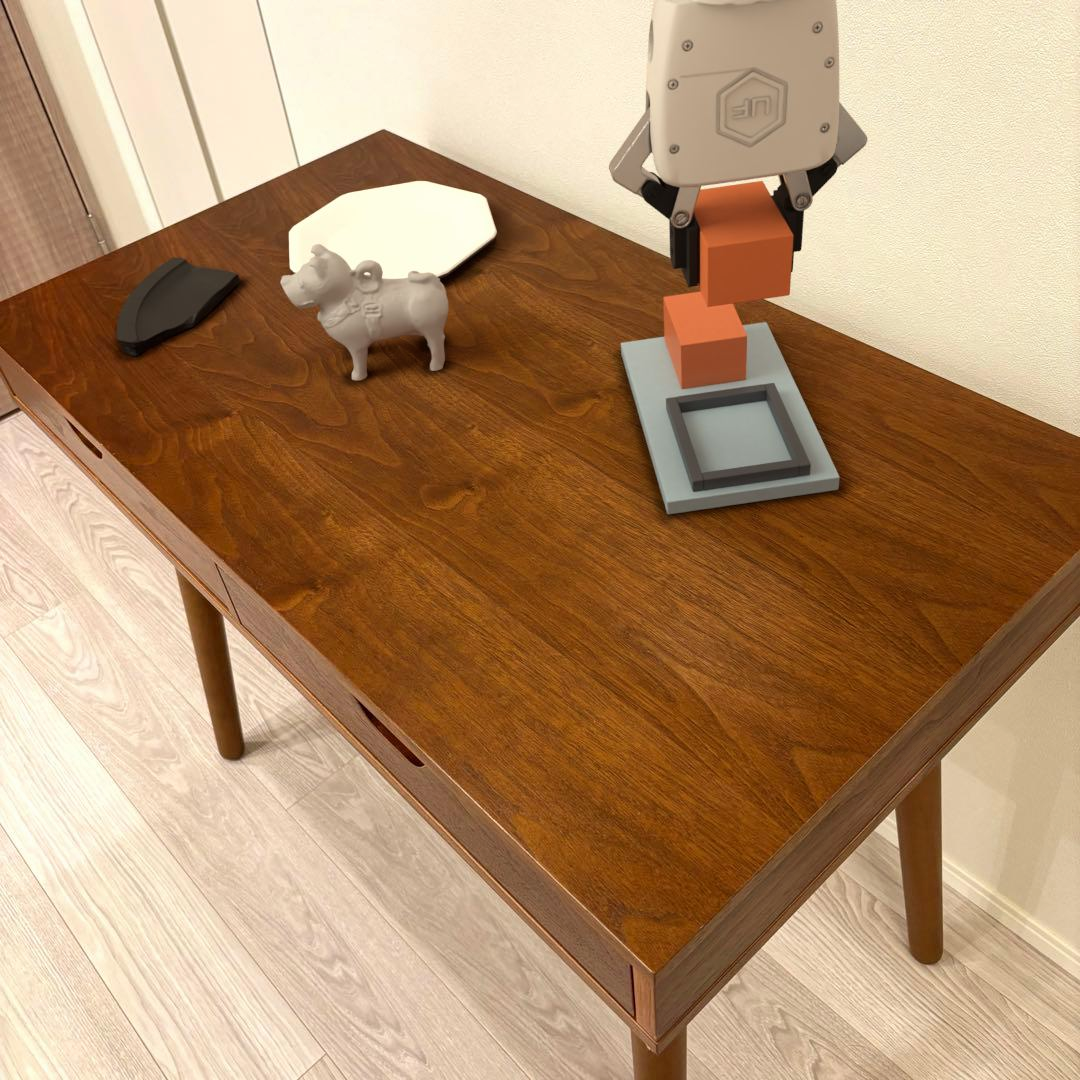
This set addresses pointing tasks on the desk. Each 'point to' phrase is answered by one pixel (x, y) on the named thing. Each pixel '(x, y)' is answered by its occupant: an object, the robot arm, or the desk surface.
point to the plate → (398, 229)
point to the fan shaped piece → (170, 303)
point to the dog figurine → (370, 304)
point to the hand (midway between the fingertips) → (734, 266)
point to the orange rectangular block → (742, 245)
